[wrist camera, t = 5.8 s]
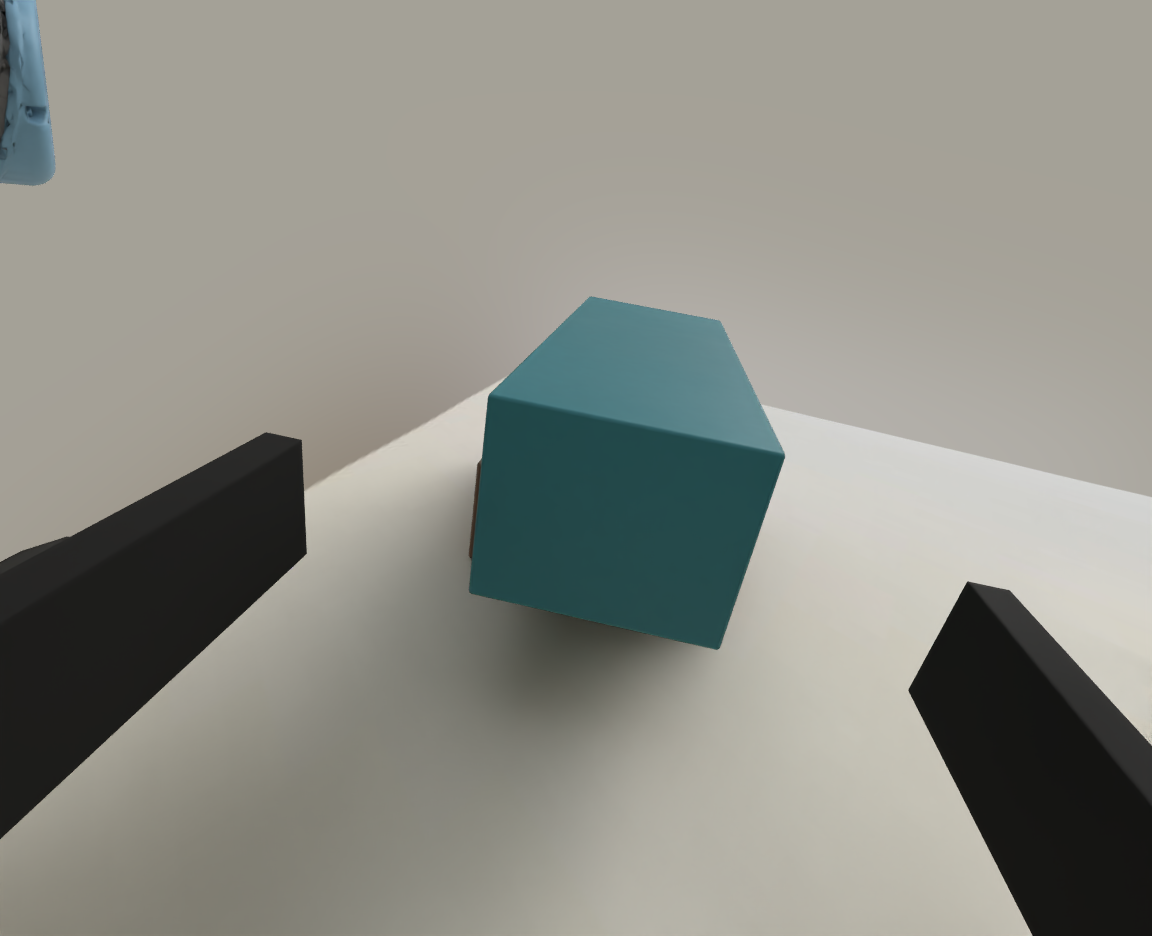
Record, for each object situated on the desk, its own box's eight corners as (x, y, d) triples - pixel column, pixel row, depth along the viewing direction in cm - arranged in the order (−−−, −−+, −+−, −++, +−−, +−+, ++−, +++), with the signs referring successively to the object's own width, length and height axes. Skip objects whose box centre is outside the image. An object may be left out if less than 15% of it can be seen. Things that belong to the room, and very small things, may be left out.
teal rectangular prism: (467, 594, 14) (487, 393, 12) (572, 400, 28) (589, 295, 26) (719, 652, 13) (787, 454, 11) (693, 424, 28) (721, 320, 26)
